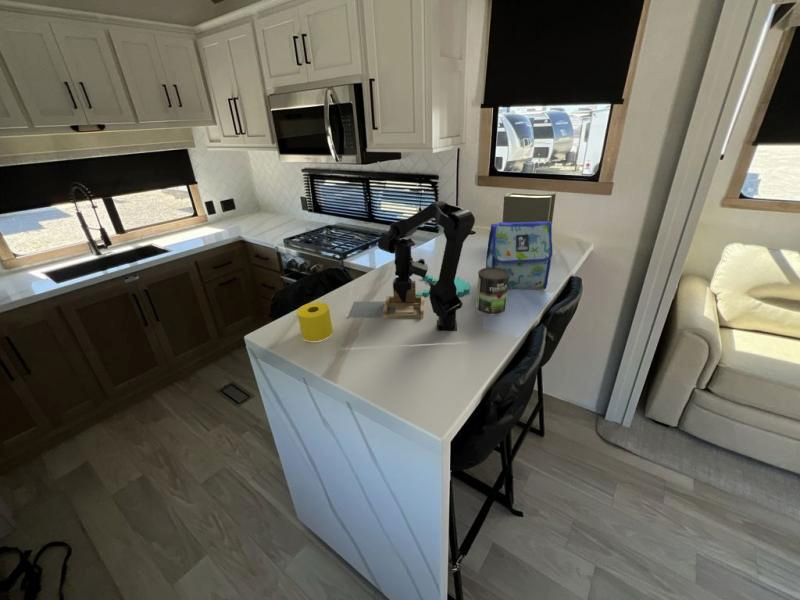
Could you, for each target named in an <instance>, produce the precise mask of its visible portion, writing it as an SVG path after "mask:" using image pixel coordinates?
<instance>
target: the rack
mask: <svg viewBox="0 0 800 600" xmlns="http://www.w3.org/2000/svg"><path fill="white" fill-rule="evenodd" d="M396 306H413V309H419V310H420V311H419V312H420V313H414V314H394V313H389V309H396ZM424 310H425V296H416V303H394V295H393V296H391V295H390V296H386V299H385V303H384V307H383V311H382V316H383V318H385V319H386V318H387V319H388V318H391V319H392V318H401V319H402V318H405V319H407V318H409V319H410V318H415V319H417V318H418V319H419V318H421V319H422V318H424V314H425V311H424Z"/></svg>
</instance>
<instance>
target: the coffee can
mask: <svg viewBox="0 0 800 600" xmlns="http://www.w3.org/2000/svg"><path fill="white" fill-rule="evenodd" d="M477 274H478V279H477V295H476V307H475V308H476V311H477V312H478V313H479V312H480V313H479V314H480V315H484V316H488V317H496V316H501V315H503V314H504V313H505V312H506V305H507V296H508V295H507V294H508V290H507V288H508V279H509V272H508V271H506V270H504V269H501V268H486V267H484V268H482V269H479V271H478V273H477Z"/></svg>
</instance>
